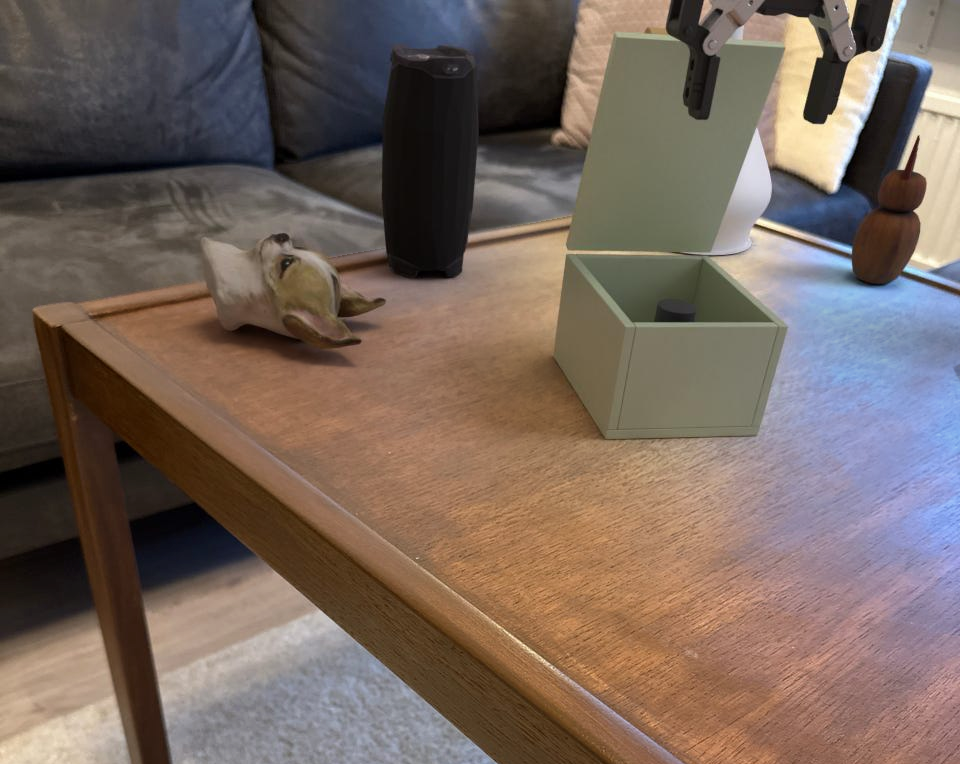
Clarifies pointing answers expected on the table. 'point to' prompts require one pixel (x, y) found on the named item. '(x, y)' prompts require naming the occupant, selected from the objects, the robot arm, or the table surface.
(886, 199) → the wooden figurine
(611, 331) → the chest
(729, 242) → the vase
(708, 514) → the table surface
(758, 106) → the chest lid
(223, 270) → the ceramic sculpture
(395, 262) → the portable speaker
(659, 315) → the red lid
